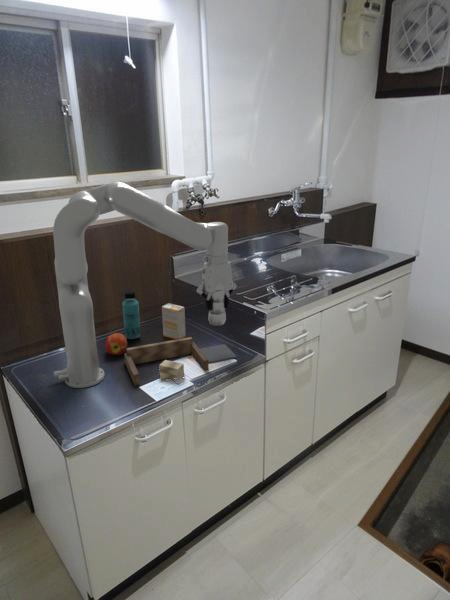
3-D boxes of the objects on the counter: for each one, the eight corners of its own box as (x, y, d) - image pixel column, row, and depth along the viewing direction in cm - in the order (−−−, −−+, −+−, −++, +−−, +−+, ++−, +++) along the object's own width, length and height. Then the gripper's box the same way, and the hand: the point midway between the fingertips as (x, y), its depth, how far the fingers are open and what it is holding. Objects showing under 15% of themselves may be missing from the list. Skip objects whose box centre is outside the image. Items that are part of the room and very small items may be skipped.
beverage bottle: (123, 336, 171) (119, 290, 164) (140, 334, 173) (137, 288, 166) (125, 343, 165) (121, 295, 158) (142, 341, 167) (139, 293, 160)
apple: (105, 359, 153) (103, 339, 150) (106, 349, 160) (105, 330, 158) (128, 357, 154) (126, 337, 151) (128, 347, 162) (126, 328, 159)
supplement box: (186, 336, 171) (185, 306, 167) (178, 341, 168) (177, 310, 163) (170, 332, 175) (169, 302, 171) (162, 336, 172) (161, 306, 167)
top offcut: (159, 371, 141) (159, 365, 140) (165, 366, 144) (165, 359, 143) (178, 375, 138) (177, 369, 137) (183, 370, 142) (183, 363, 141)
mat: (208, 363, 150) (208, 362, 150) (197, 350, 160) (197, 349, 160) (236, 357, 154) (236, 356, 154) (224, 345, 164) (224, 344, 164)
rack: (134, 385, 136) (133, 369, 134) (125, 363, 150) (123, 348, 148) (208, 370, 146) (208, 354, 144) (193, 350, 160) (192, 336, 158)
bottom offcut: (160, 381, 140) (160, 374, 139) (159, 375, 143) (159, 369, 142) (184, 379, 141) (184, 372, 140) (183, 373, 145) (183, 366, 144)
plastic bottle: (226, 320, 156) (227, 268, 149) (225, 328, 150) (225, 274, 143) (209, 320, 156) (209, 268, 150) (207, 327, 150) (206, 273, 143)
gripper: (196, 264, 138) (198, 315, 144) (244, 259, 145) (243, 308, 151) (189, 258, 145) (190, 308, 151) (235, 254, 151) (234, 301, 157)
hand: (217, 307), depth 151 cm, fingers closed on plastic bottle, 5 cm apart
